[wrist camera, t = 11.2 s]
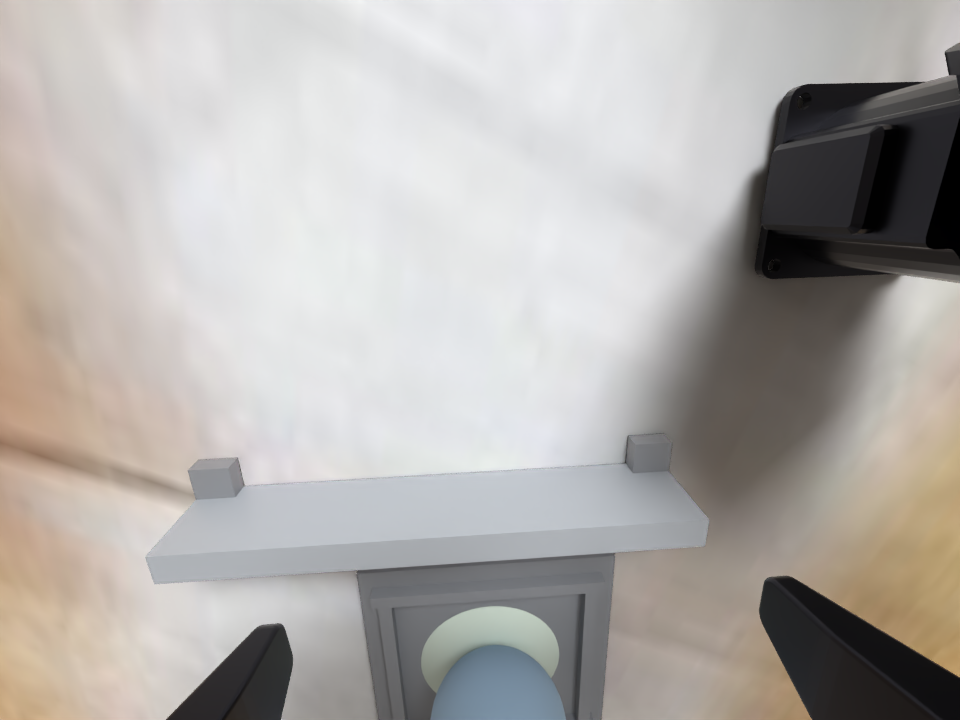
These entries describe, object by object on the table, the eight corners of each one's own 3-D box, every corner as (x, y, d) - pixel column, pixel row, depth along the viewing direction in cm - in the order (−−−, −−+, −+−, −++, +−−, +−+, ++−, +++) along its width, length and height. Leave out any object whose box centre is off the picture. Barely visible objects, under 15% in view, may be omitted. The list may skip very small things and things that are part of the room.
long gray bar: (663, 433, 20) (714, 487, 16) (655, 509, 21) (700, 575, 17) (198, 459, 19) (133, 523, 15) (219, 537, 20) (164, 614, 16)
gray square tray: (610, 546, 21) (619, 565, 20) (597, 717, 25) (604, 741, 24) (359, 563, 21) (354, 584, 20) (384, 736, 25) (381, 761, 24)
